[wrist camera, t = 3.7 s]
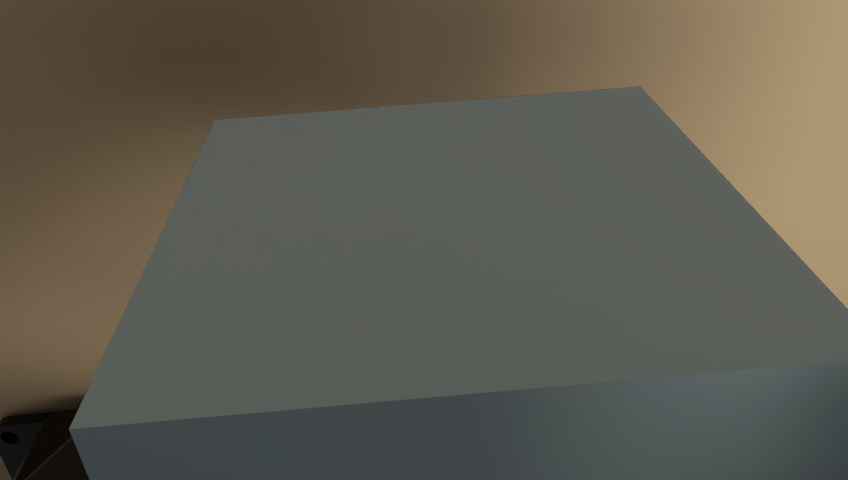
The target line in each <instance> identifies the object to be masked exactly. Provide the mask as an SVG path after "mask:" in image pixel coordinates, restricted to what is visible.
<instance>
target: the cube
mask: <svg viewBox="0 0 848 480" xmlns="http://www.w3.org/2000/svg"><path fill="white" fill-rule="evenodd" d="M69 431H70V433H71V436H72V438H73V441H74V443H75V446H76V448H77V451H78V453H79V455H80V458H81V460H82V463H83V465H84V468H85V470H86V473H87V475H88V478H89V480H848V309H847V308H846V307H845V306H844V305H843V304H842V303H841V301H840V300H839V299H838V298H837V297H836V296H835V295H834V294H833V293H832V292H831V291H830V290H829V289H828V288H827V286H826V285H825V284H824V283H823V282H822V281H821V280H820V279H819V278H818V277H817V276H816V275H815V274H814V273H813V271H812V270H811V269H810V268H809V267H808V266H807V265H806V264H805V263H804V262H803V261H802V260H801V259H800V257H799V256H798V255H797V254H796V253H795V252H794V251H793V250H792V249H791V248H790V247H789V246H788V245H787V244H786V242H785V241H784V240H783V239H782V238H781V237H780V236H779V235H778V234H777V233H776V232H775V231H774V230H773V229H772V227H771V226H770V225H769V224H768V223H767V222H766V221H765V220H764V219H763V218H762V217H761V216H760V215H759V213H758V212H757V211H756V210H755V209H754V208H753V207H752V206H751V205H750V204H749V203H748V202H747V201H746V200H745V198H744V197H743V196H742V195H741V194H740V193H739V192H738V191H737V190H736V189H735V188H734V187H733V186H732V185H731V183H730V182H729V181H728V180H727V179H726V178H725V177H724V176H723V175H722V174H721V173H720V172H719V171H718V169H717V168H716V167H715V166H714V165H713V164H712V163H711V162H710V161H709V160H708V159H707V158H706V157H705V156H704V154H703V153H702V152H701V151H700V150H699V149H698V148H697V147H696V146H695V145H694V144H693V143H692V142H691V141H690V139H689V138H688V137H687V136H686V135H685V134H684V133H683V132H682V131H681V130H680V129H679V128H678V127H677V126H676V124H675V123H674V122H673V121H672V120H671V119H670V118H669V117H668V116H667V115H666V114H665V113H664V112H663V110H662V109H661V108H660V107H659V106H658V105H657V104H656V103H655V102H654V101H653V100H652V99H651V98H650V97H649V95H648V94H647V93H646V92H645V91H644V90H643V89H642V88H641V87H627V88H614V89H602V90H589V91H576V92H564V93H551V94H538V95H525V96H513V97H500V98H487V99H474V100H462V101H449V102H436V103H424V104H411V105H398V106H385V107H373V108H360V109H347V110H334V111H322V112H309V113H296V114H283V115H271V116H258V117H245V118H233V119H220V120H215V121H214V123H213V126H212V128H211V130H210V132H209V134H208V136H207V138H206V140H205V142H204V145H203V147H202V149H201V151H200V153H199V155H198V157H197V159H196V161H195V164H194V166H193V168H192V170H191V172H190V174H189V176H188V178H187V180H186V183H185V185H184V187H183V189H182V191H181V193H180V195H179V197H178V200H177V202H176V204H175V206H174V208H173V210H172V212H171V214H170V216H169V219H168V221H167V223H166V225H165V227H164V229H163V231H162V233H161V235H160V238H159V240H158V242H157V244H156V246H155V248H154V250H153V252H152V254H151V257H150V259H149V261H148V263H147V265H146V267H145V269H144V271H143V274H142V276H141V278H140V280H139V282H138V284H137V286H136V288H135V290H134V293H133V295H132V297H131V299H130V301H129V303H128V305H127V307H126V309H125V312H124V314H123V316H122V318H121V320H120V322H119V324H118V326H117V328H116V331H115V333H114V335H113V337H112V339H111V341H110V343H109V345H108V348H107V350H106V352H105V354H104V356H103V358H102V360H101V362H100V364H99V367H98V369H97V371H96V373H95V375H94V377H93V379H92V381H91V383H90V386H89V388H88V390H87V392H86V394H85V396H84V398H83V400H82V402H81V405H80V407H79V409H78V411H77V413H76V415H75V417H74V419H73V422H72V424H71V426H70V428H69Z"/></svg>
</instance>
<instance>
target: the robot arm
mask: <svg viewBox="0 0 848 480" xmlns="http://www.w3.org/2000/svg"><path fill="white" fill-rule="evenodd" d="M77 411H78V410H73V411H62V412H50V413H39V414H28V415H17V416H8V417H4V418H3V419H1V420H0V455H1V457H2V459H3V461H4V463H5V465H6V467H7V469H8V471H9V474H10V476H11V478H12V480H89V478H88V475H87V473H86V470H85V468H84V465H83V463H82V460H81V458H80V455H79V453H78V451H77V448H76V446H75V443H74V441H73V438H72V436H71V433H70V431H69V428H70V426H71V424H72V422H73V419H74V417H75V415H76V413H77ZM10 432H13V433H15V434H12V433H10Z"/></svg>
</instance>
